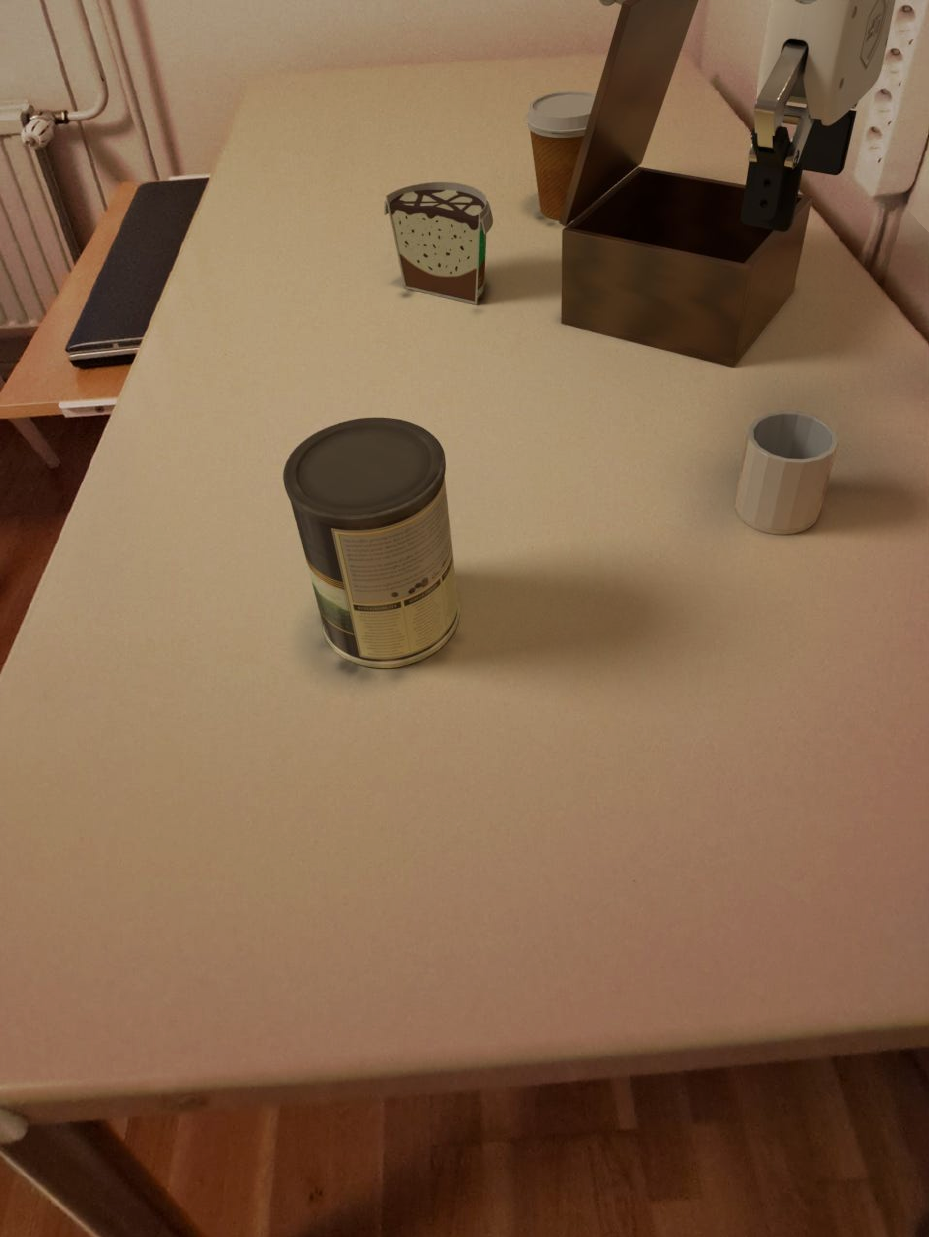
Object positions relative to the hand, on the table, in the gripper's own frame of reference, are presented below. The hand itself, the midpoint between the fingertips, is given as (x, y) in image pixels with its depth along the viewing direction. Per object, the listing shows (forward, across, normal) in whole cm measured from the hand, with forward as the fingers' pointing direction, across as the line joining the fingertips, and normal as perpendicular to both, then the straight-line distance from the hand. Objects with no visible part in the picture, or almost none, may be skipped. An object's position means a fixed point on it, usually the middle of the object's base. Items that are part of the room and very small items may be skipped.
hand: (793, 197), depth 62 cm
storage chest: (+22, +22, +16) cm, 35 cm away
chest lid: (+3, +22, +22) cm, 31 cm away
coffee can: (+23, -29, +15) cm, 40 cm away
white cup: (+22, -4, -4) cm, 23 cm away
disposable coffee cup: (+22, +38, +38) cm, 58 cm away
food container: (+23, +16, +40) cm, 49 cm away
